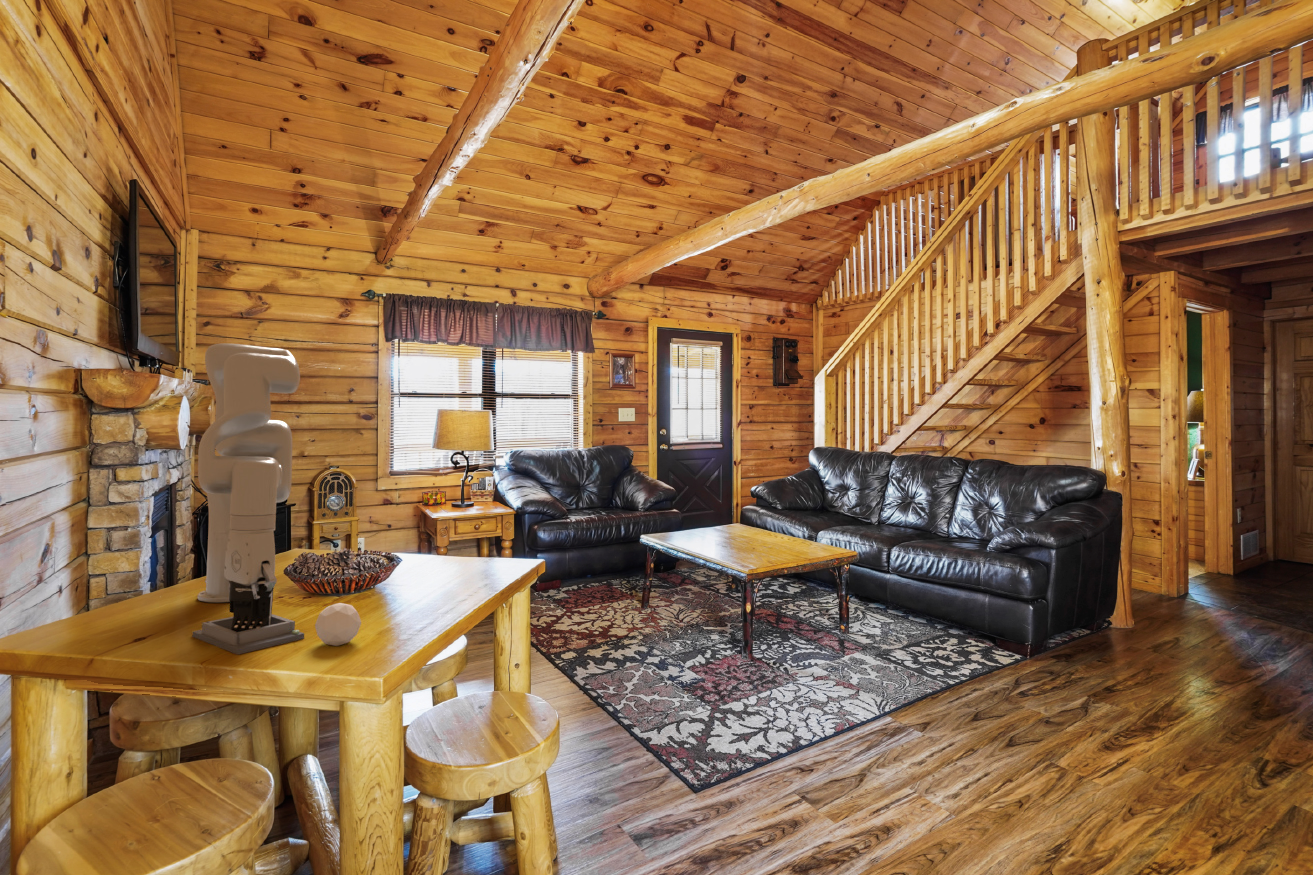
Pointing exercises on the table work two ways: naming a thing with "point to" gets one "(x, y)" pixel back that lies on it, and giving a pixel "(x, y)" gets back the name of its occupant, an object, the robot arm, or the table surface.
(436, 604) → the table surface
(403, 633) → the table surface
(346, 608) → the geometric ball
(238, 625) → the battery charger
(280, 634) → the charging dock
